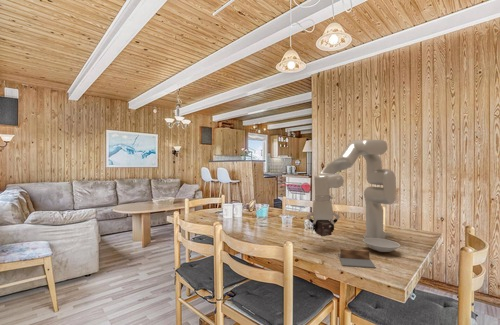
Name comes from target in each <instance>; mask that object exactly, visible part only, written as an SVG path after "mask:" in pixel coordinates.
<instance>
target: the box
mask: <svg viewBox="0 0 500 325" xmlns="http://www.w3.org/2000/svg"><path fill="white" fill-rule="evenodd" d="M332 233H333V232H332V231H331V221H330V220H317V221H316V232H315V234H316V235H319V236H320V237H326V236H327V237H329V236H332V235H333V234H332Z"/></svg>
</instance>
